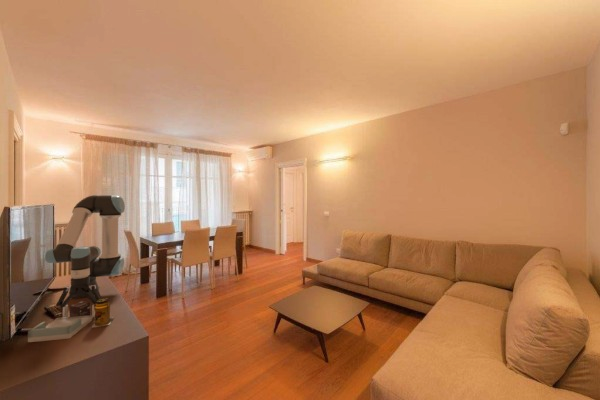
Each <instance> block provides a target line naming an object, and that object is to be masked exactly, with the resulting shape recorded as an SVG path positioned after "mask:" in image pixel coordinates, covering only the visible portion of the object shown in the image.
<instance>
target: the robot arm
mask: <svg viewBox="0 0 600 400" xmlns="http://www.w3.org/2000/svg"><path fill="white" fill-rule="evenodd" d="M125 207H126V206H125V201H124V199H123V198H122V196H120V195H113V194H112V195H110V194H109V195H105V194H104V195H103V194H101V195H96V194H94V195H93V194H92V195H88V196H86V197H85V198H82V199H81V200H80V201H79V202H77V203H76V205H75V206H74V207H73V209H72V212H71V213H72V216H71V217H70V220H69V221H68V222H67V225H66V227H65V229H64V231H63V232H62V235H61V237H60V239H59V240H58V242H57V245H56V246H55V248H50V249H47V250H46V252H45V255H44V259H45V262H47V263H48V264H61V263H62V264H63V263H70V285H66V286H65V287H63V289H62V290H63V291H62V292H61V295H60V297H59V298H58V300H57V302H56V305H55V306H57V307H60V313H61V314H62V318H65V317H69V304H68V303H69V302H70V301H71V300H72V299H80V298H88V300H89V302H90V303H92V305H91V315H93V318H95V306H96V301H97V300H99V299H103V297H102V296H101V294H100V286H99V283H98V281H97V278H101V277H102V278H103V277H113V276H119V275H120V274H121V273H122V271H123V269H124V266H125V259H124V257H121V253H119V218H120V217H121V216H122V213H124V212H125ZM96 213H97V214H98V215H99V217H100V218H101V219H102V220H101V221H102V222H101V223H102V224H101V225H102V226H101V230H102V231H101V249H100V247H98V246H94V245H93V246H92V245H91V246H77V247H75V246H76V245H77V242H78V240H79V239H80V236H81V234H82V232H83V229H84V228H85V225H86V224H87V221H88V218H90V217H92V215H93V214H96ZM67 295H68V296H67Z"/></svg>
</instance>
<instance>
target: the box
mask: <svg viewBox="0 0 600 400" xmlns="http://www.w3.org/2000/svg"><path fill="white" fill-rule="evenodd" d="M90 315H91V301H79V302H77V303H76V302H75V303H74V304H70V305H69V317H77V316H90Z"/></svg>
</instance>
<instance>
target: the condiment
mask: <svg viewBox="0 0 600 400" xmlns="http://www.w3.org/2000/svg"><path fill="white" fill-rule="evenodd" d="M114 317H115V316H112V317H111V303H110V298H107V297H104V298H103V297H102V299H99V300H97V301H96V306H95V317H94V324H92V327H91V328H98V327H104V326H108V325H111V323H112V322H113V320H114Z"/></svg>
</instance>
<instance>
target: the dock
mask: <svg viewBox="0 0 600 400" xmlns="http://www.w3.org/2000/svg"><path fill="white" fill-rule="evenodd" d="M93 319H94V317H93V315H92V314H90V316H77V317H70V316H68V317H65V318H63V317H57V318H55V320H53V321H51V322H50V323H48V324H47V321H42V322H40V323H39V324H37V325H35V326H34V327H33V328H31V329H29V330H28V331H27V343H33V342H45V341H54V340H55V341H56V340H57V341H58V340H65V339H71V338H72V337H74V335H76V334H77V333H78V332H80V331H81V330H82V329H83V328H85V327H86V326H87V325H88V324H89V323H90V322H92V321H93Z"/></svg>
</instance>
